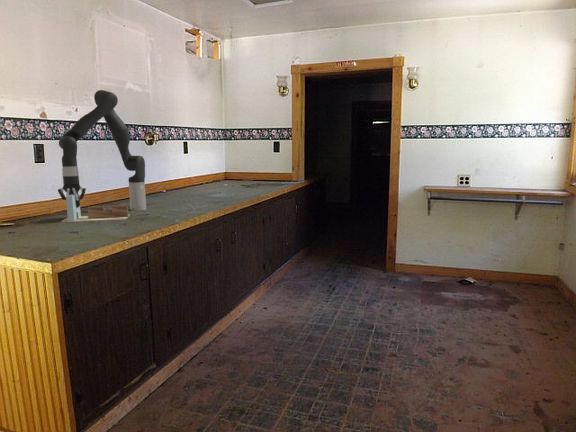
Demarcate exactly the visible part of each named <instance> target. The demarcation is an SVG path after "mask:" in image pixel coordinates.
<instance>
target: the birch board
mask: <svg viewBox="0 0 576 432" xmlns="http://www.w3.org/2000/svg"><path fill="white" fill-rule="evenodd" d="M130 215H131V214H130V213H128V217H130ZM128 217H115V218H91V219H88V215H81V217H79V218H77V220H75V221H74V222H88V221H89V222H93V221H94V222H95V221H116V220H117V221H118V220H127V219H128ZM67 222H69V223H70V222H73V221H68V216H67V217H66V218H64V219H62V220H60V223H67Z"/></svg>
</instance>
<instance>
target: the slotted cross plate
mask: <svg viewBox="0 0 576 432" xmlns="http://www.w3.org/2000/svg"><path fill="white" fill-rule="evenodd" d="M78 194H79V195H80V193H79V192H78ZM65 197H66V200H65V203H66V212H67V214H66V215H67V217H68V221H72V222H76V221H75V220H77V218H79V217H81V216H82V213H81V205H80V206H79V207H78V208H77V205H76V201H77V200H76V197H75V195H74V194H70V195H68V196H66V195H65Z"/></svg>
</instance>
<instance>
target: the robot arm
mask: <svg viewBox="0 0 576 432" xmlns="http://www.w3.org/2000/svg"><path fill="white" fill-rule="evenodd" d="M93 98H94V103H95V104H96V107H95V108H94V109H92V110H90V111H89V112H88V113H86V114H84V115H83V116H81V117H79V119H78V120H77V121H76V122H75V123H74V124H73V125H72V127H71V128H70V129H69V130H68V131H66V132H65V133H64V134H63V135H62V136H61V137H60V138H59V139H58V146H59V147H60V148H61V149H62V156H61V165H62V166H61V167H62V169H61V172H62V181H63V182H62V183H63V186H62V187H61V188H58V189H57V192H58V194H59V195H60V198H61V200H62V201H66V196H68V195H70V194H74V195H75V197H76V200H77V201H76V205H77V208H78V207H79V206H80V207H81V200H83V199H84V197H85V193H86V191H87V188H86V187H81V185H80V176H79V168H78V160H77V157H78V156H77V155H78V143H77V142H78V141H79V140H80V139H82V138H84V137H85V135H87V133H88V132H89V131H90V130H91V129H92V128H93V127H94V126H95V125H96V124H97V123H98V122H99V121H101V119H102V118H104V121H105V123H106V125H107V127H108V129H109V132H110V134H111V136H112V138H113V140H114V142H115V144H116V146H117V148H118V151H119V153H120V154H119V155H120V156H121V160H122V163H123V165H124V167H125V169H126V170H127V171H130V172H135V174H133V175H132V176H129V177H128V191H129V205H130V211H133V212H141V211H146V210H147V198H146V185H145V178H146V162H145V158H144V156H142V155H132V154H131V153H130V150H129V145H130V141H131V134H130V131H129V130H128V129H129V128H128V127H127V125H126V124H125V122H124V121H123V120H122V119H121V118H120V116H119V115H118V113H116V110H115V108H116V106H117V104H118V101H119V99H118V96H117V95H116V93H114V92H111V91H109V90H103V89H99V90H96V92H95V93H94V96H93ZM79 192H80V193H79ZM64 193H66V195H65V194H64ZM78 193H79V194H78Z"/></svg>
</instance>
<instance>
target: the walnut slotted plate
mask: <svg viewBox="0 0 576 432" xmlns="http://www.w3.org/2000/svg"><path fill="white" fill-rule="evenodd" d="M128 214H129V207H128V205H111V211H105V206H104V205H103V206H88V207H87V216H88V219H91V218H115V217H127V218H129V216H128Z"/></svg>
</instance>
